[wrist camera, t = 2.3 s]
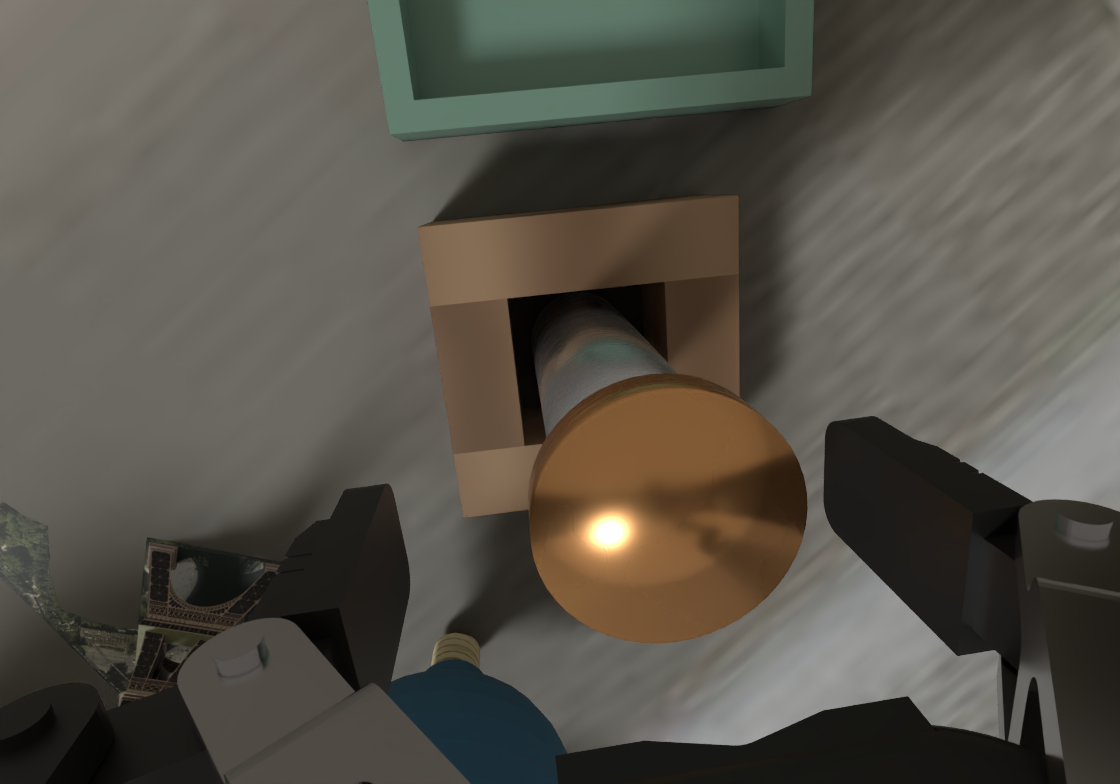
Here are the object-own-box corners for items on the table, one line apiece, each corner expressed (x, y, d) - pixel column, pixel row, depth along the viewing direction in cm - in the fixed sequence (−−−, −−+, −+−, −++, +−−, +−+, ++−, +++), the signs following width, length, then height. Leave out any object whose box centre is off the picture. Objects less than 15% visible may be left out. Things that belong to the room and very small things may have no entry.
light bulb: (586, 576, 25) (651, 895, 14) (529, 739, 27) (545, 1128, 16) (375, 532, 24) (255, 845, 12) (334, 706, 26) (200, 1106, 15)
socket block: (701, 194, 21) (738, 195, 18) (707, 443, 24) (739, 483, 20) (431, 221, 21) (417, 227, 17) (469, 471, 23) (463, 517, 20)
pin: (637, 271, 22) (811, 375, 9) (644, 392, 23) (803, 625, 11) (510, 284, 21) (514, 410, 9) (524, 406, 23) (544, 659, 10)
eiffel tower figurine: (-42, 521, 23) (-719, 929, 10) (186, 385, 22) (-241, 645, 9) (225, 781, 27) (-15, 1286, 15) (422, 676, 27) (348, 1114, 14)
